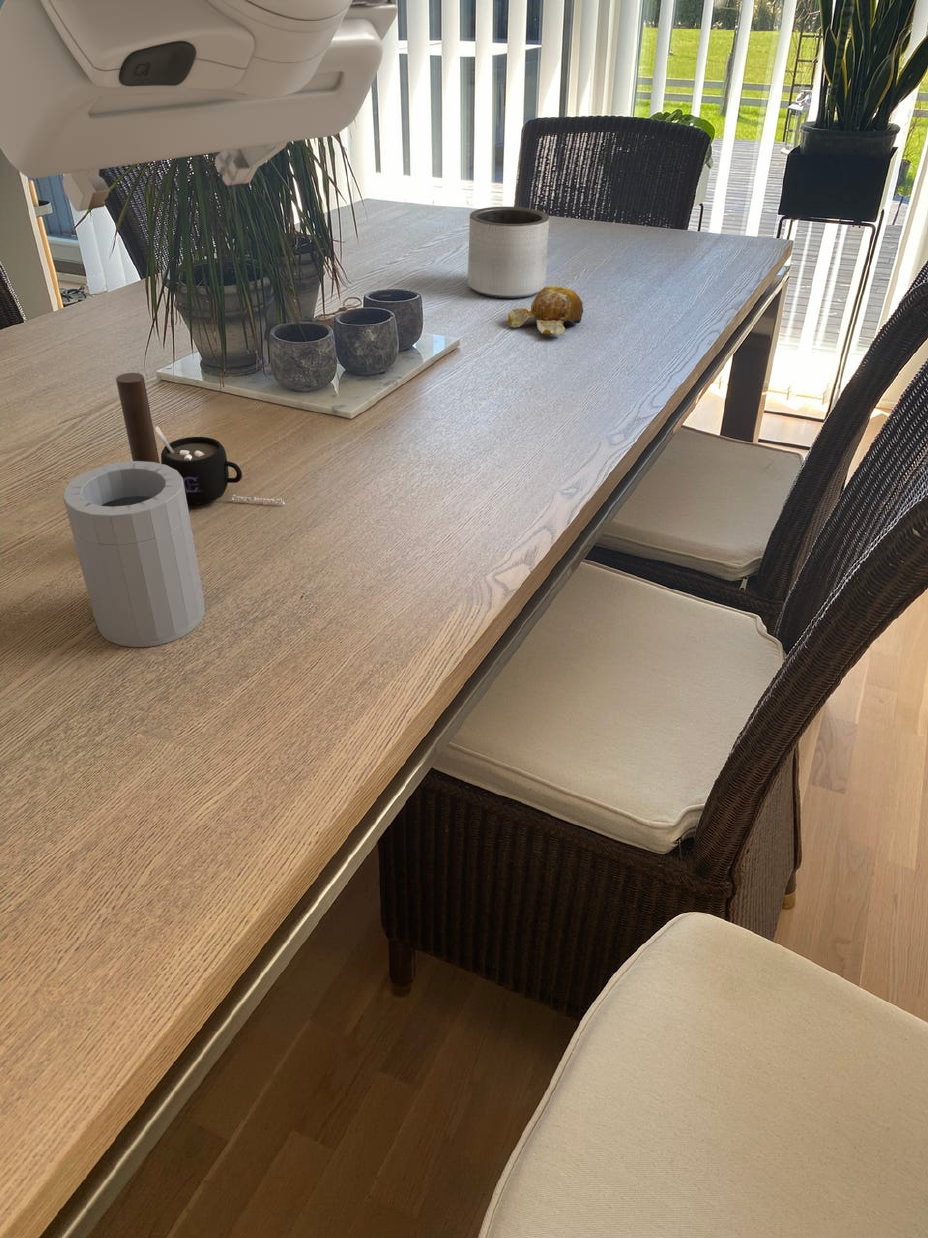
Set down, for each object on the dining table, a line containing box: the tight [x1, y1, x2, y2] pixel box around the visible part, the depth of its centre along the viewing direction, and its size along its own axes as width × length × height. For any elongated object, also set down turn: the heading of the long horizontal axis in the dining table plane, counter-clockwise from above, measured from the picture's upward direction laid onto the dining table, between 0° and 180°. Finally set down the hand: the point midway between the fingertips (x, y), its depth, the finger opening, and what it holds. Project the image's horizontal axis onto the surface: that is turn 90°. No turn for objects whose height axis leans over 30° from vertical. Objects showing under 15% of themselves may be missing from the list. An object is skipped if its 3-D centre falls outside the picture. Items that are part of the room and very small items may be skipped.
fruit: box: [507, 286, 584, 336], centre depth 137 cm, size 11×11×5 cm
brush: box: [115, 372, 161, 464], centre depth 83 cm, size 4×4×16 cm
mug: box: [154, 425, 285, 505], centre depth 92 cm, size 12×6×8 cm, turn 83°
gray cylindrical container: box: [62, 460, 206, 648], centre depth 75 cm, size 9×9×12 cm
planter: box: [467, 206, 550, 299], centre depth 150 cm, size 12×12×11 cm
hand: (160, 186), depth 53 cm, fingers open, 8 cm apart
